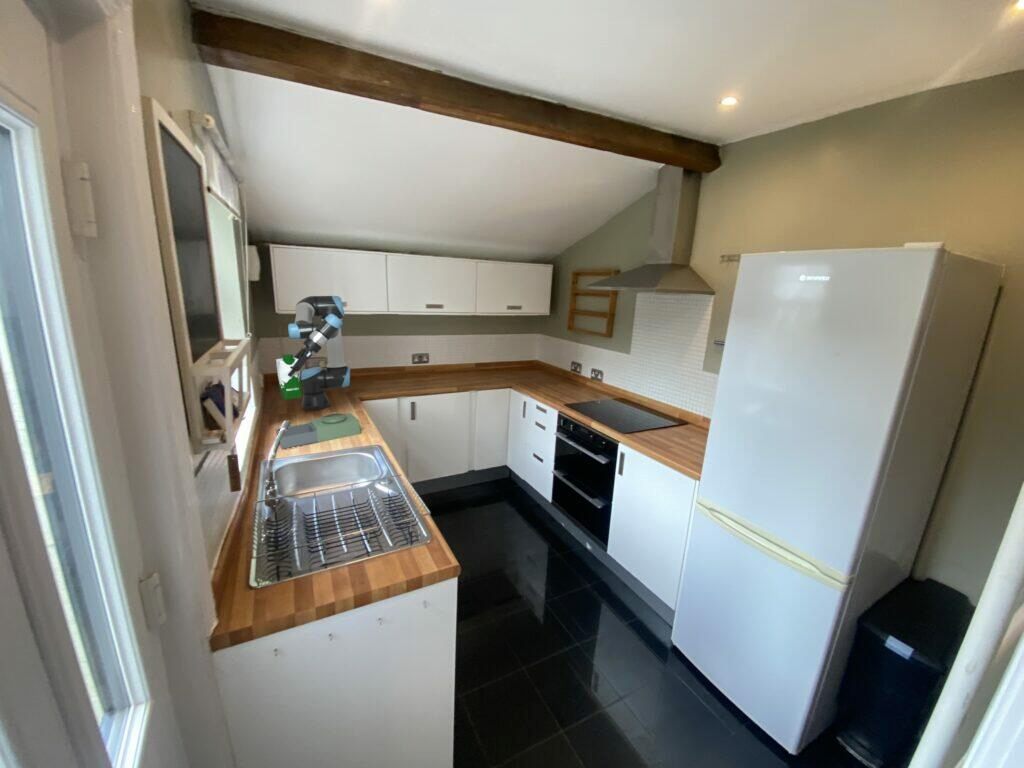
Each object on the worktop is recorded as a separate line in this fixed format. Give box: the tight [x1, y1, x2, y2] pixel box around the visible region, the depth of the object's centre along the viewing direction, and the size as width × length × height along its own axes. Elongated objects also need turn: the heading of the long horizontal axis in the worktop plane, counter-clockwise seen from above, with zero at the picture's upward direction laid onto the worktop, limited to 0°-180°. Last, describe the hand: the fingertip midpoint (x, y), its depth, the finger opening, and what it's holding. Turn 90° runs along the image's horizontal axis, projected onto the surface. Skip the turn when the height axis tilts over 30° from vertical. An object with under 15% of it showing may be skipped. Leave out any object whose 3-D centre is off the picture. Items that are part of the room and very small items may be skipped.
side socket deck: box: [275, 412, 361, 450], centre depth 192 cm, size 34×15×9 cm, turn 127°
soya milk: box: [275, 354, 303, 400], centre depth 186 cm, size 9×9×20 cm
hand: (281, 379), depth 184 cm, fingers closed on soya milk, 9 cm apart
